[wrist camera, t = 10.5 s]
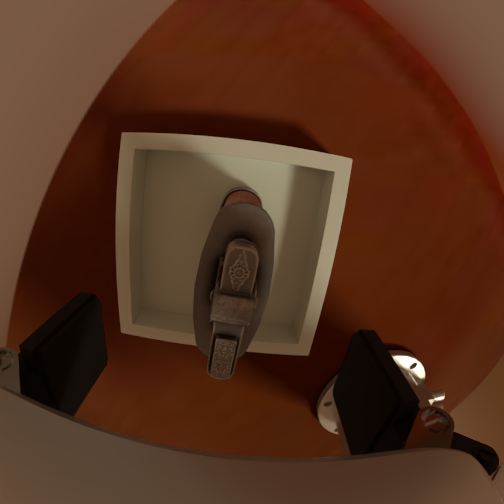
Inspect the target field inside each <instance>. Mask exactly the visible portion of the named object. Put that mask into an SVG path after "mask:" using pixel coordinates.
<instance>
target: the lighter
mask: <svg viewBox="0 0 504 504" xmlns="http://www.w3.org/2000/svg"><path fill="white" fill-rule="evenodd" d="M274 245H275V229H274V224H273V221H272V219H271V217H270V216H269V214H268V213H267V211H266V210H264V209H263V203H262V199H261V198H260V196H259V195H258V193H257V192H255V191H254V190H253V189H250V188H247V187H236V188H233V189H231V190H230V191H228V192H227V193H226V195H225V196H224V198H223V201H222V203H221V206H220V208H219V211H218V213H217V215H216V216H215V219H214V221H213V224H212V226H211V229H210V232H209V234H208V237H207V240H206V242H205V245H204V248H203V250H202V253H201V258H200V262H199V267H198V271H197V276H196V280H195V285H194V302H193V323H194V332H195V341H196V345H197V347H198V349H199V350H200V351H201V352H202V353H203V354H204V355H206V356H207V357H208V363H207V373H208V374H209V375H210V376H212V377H213V378H217V379H228V378H230V377H231V376H233V373H234V370H235V366H236V361H237V358H239V357H241V356H242V355H243V354H244V353H245V352H246V351H247V349H248V347H249V345H250V343H251V341H252V339H253V337H254V335H255V333H256V331H257V329H258V327H259V325H260V322H261V319H262V316H263V313H264V310H265V307H266V304H267V301H268V298H269V292H270V286H271V280H272V274H273V268H274Z"/></svg>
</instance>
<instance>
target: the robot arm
mask: <svg viewBox="0 0 504 504" xmlns="http://www.w3.org/2000/svg"><path fill="white" fill-rule="evenodd" d="M19 347H20V351H21V352H20V353H19V354H17V353H16V352H15V351H14V350H13V349H10V348H0V504H504V464H503V463H502V464H501V465H500V466H499V458H498V455H497V453H496V452H495V450H494V449H493V448H491V447H490V446H488V445H486V444H483V443H480V442H478V441H475V440H473V439H470V438H468V437H466V436H463V435H461V434H458V433H456V432H454V421H453V418H452V417H451V415H450V414H449V413H448V412H446V411H445V410H443V405H442V403H441V402H440V401H441V400H443V399H444V396H445V393H444V390H442V389H441V390H435V391H432V392H430V391H429V390H428V388H427V387H426V386H425V384H424V382H425V369H424V366H423V365H422V363H421V362H420V360H419V359H418V358H417V357H416V356H415V355H414V354H412V353H410V352H408V351H402V350H387V348H386V347H385V345H384V344H383V342H382V341H381V339H380V338H379V336H378V335H377V333H376V332H375V331H374V330H358V332H357V333H354V334H353V335H352V338H351V341H350V344H349V347H348V350H347V352H346V355H345V358H344V361H343V364H342V366H341V369H340V372H339V373H338V374H337V375H336V376H335V377H334V378H333V379H332V380H331V381H330V382H329V383H328V384H327V385H326V387H325V388H324V389H323V391H322V392H321V394H320V397H319V399H318V402H317V407H316V408H317V415H318V419H319V422H320V423H321V425H322V426H323V427H324V428H325V429H326V430H328V431H330V432H332V433H335V434H339V438H340V441H341V444H342V448H343V451H344V455H345V456H335V457H316V458H273V457H254V456H241V455H230V454H221V453H213V452H206V451H199V450H193V449H187V448H182V447H177V446H171V445H167V444H162V443H158V442H153V441H149V440H145V439H141V438H137V437H134V436H130V435H126V434H123V433H119V432H116V431H113V430H110V429H106V428H103V427H100V426H97V425H95V424H92V423H89V422H86V421H83V420H81V419H78V418H76V417H74V415H75V413H76V412H77V410H78V409H79V407H80V405H81V404H82V402H83V401H84V399H85V397H86V396H87V394H88V393H89V391H90V389H91V388H92V386H93V385H94V383H95V382H96V380H97V379H98V377H99V376H100V374H101V373H102V371H103V369H104V368H105V366H106V365H107V361H108V356H107V350H106V343H105V336H104V329H103V320H102V311H101V303H100V300H99V299H97V297H96V295H95V294H90V293H86V292H80V293H79V294H78V295H77V296H75V297H74V298H73V299H72V300H71V301H69V302H68V303H67V304H66V305H65V306H63V307H62V308H61V309H60V310H59V311H58V312H56V313H55V314H54V315H53V316H52V317H51V318H49V319H48V320H47V321H46V322H45V323H44V324H43V325H41V326H40V327H39V328H38V329H37V330H36V331H35V332H34V333H32V334H31V335H30V336H29V337H28V338H27V339H26V340H25V341H24V342H23V343H22V344H20V345H19Z"/></svg>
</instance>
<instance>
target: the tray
mask: <svg viewBox="0 0 504 504" xmlns="http://www.w3.org/2000/svg"><path fill="white" fill-rule="evenodd" d="M351 166H352V159H350V158H346V157H342V156H337V155H332V154H327V153H322V152H317V151H312V150H307V149H301V148H296V147H290V146H284V145H277V144H271V143H264V142H256V141H249V140H240V139H232V138H222V137H212V136H200V135H186V134H168V133H134V132H122V136H121V144H120V154H119V165H118V179H117V197H116V274H117V292H118V305H119V317H120V326H121V333H125V334H130V335H135V336H140V337H145V338H151V339H157V340H162V341H168V342H175V343H181V344H188V345H195V346H197V345H196V341H195V332H194V323H193V302H194V285H195V280H196V276H197V271H198V267H199V262H200V258H201V253H202V250H203V248H204V245H205V242H206V240H207V237H208V234H209V232H210V229H211V226H212V224H213V221H214V219H215V216H216V215H217V213H218V211H219V208H220V206H221V203H222V201H223V198H224V196H225V195H226V193H227V192H228V191H230V190H231V189H233V188H236V187H247V188H250V189H253V190H254V191H255V192H257V193H258V195H259V196H260V198H261V199H262V203H263V209H264V210H266V211H267V213H268V214H269V216H270V217H271V219H272V221H273V224H274V229H275V245H274V268H273V274H272V280H271V286H270V292H269V298H268V301H267V304H266V307H265V310H264V313H263V316H262V319H261V322H260V325H259V327H258V329H257V331H256V333H255V335H254V337H253V339H252V341H251V343H250V345H249V347H248V349H247V351H246V352H257V353H269V354H284V355H303V356H308V355H309V352H310V349H311V345H312V342H313V338H314V335H315V331H316V328H317V324H318V321H319V317H320V313H321V309H322V306H323V302H324V298H325V294H326V290H327V286H328V282H329V278H330V273H331V269H332V265H333V260H334V256H335V252H336V247H337V242H338V238H339V233H340V228H341V223H342V218H343V212H344V207H345V202H346V196H347V190H348V185H349V179H350V172H351Z"/></svg>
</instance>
